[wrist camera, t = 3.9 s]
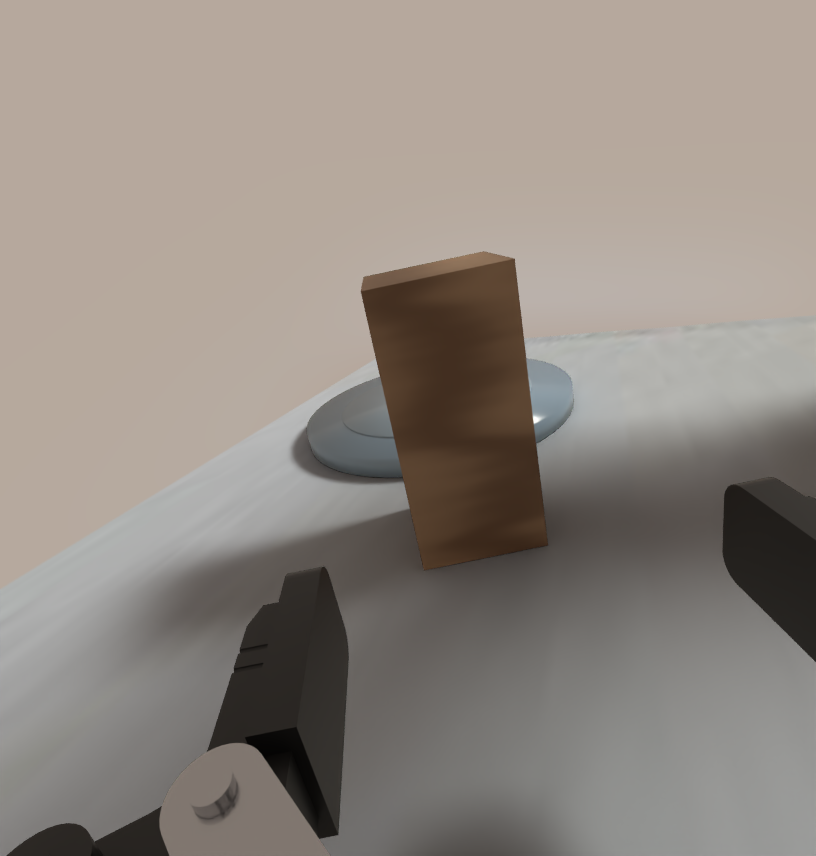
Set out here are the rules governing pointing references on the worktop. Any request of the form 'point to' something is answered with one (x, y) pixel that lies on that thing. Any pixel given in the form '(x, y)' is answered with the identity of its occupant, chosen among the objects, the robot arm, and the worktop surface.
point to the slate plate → (372, 433)
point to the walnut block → (459, 405)
